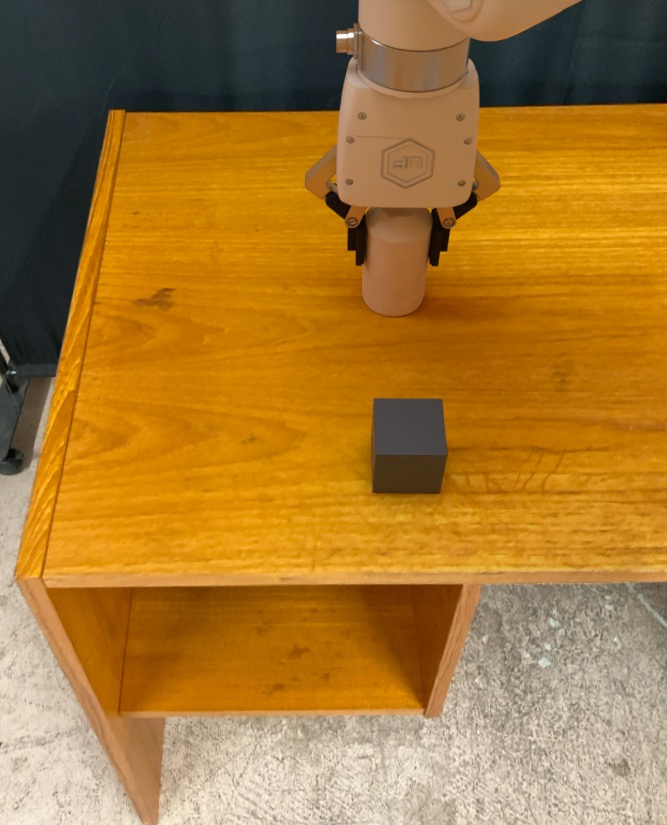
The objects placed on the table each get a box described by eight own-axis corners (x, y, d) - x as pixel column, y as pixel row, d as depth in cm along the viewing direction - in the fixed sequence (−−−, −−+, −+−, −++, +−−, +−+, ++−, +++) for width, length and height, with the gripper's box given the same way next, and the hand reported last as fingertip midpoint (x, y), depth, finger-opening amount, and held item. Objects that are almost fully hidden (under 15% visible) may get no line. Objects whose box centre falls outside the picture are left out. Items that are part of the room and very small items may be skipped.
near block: (435, 438, 63) (442, 398, 59) (440, 493, 60) (447, 455, 56) (370, 437, 63) (373, 397, 59) (372, 493, 60) (375, 454, 56)
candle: (430, 313, 72) (442, 223, 64) (368, 321, 71) (372, 230, 63) (415, 270, 75) (426, 179, 67) (356, 277, 74) (359, 186, 66)
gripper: (282, 78, 53) (292, 285, 67) (550, 80, 53) (503, 287, 67) (287, 20, 57) (296, 225, 72) (533, 22, 57) (492, 226, 71)
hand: (396, 253), depth 69 cm, fingers closed on candle, 5 cm apart
